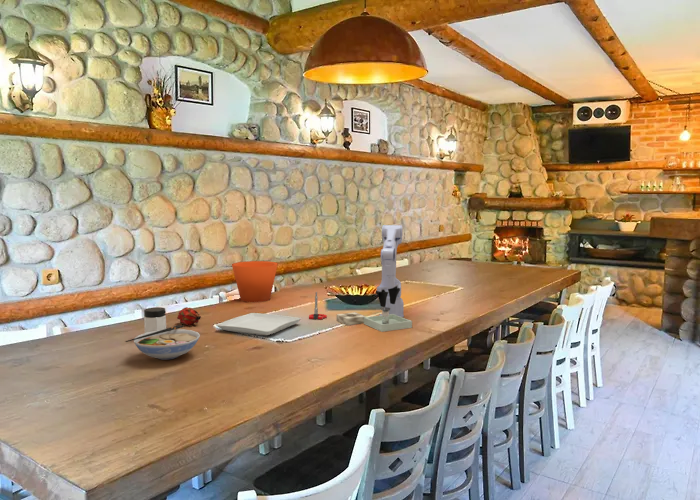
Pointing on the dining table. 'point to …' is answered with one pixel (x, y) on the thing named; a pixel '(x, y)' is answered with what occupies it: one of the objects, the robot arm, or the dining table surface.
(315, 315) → the tow hook
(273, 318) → the square plate
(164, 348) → the ramen bowl
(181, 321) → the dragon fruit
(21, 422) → the dining table surface
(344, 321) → the pin block
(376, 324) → the tray
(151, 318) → the jar
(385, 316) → the steel pin
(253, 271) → the flowerpot
